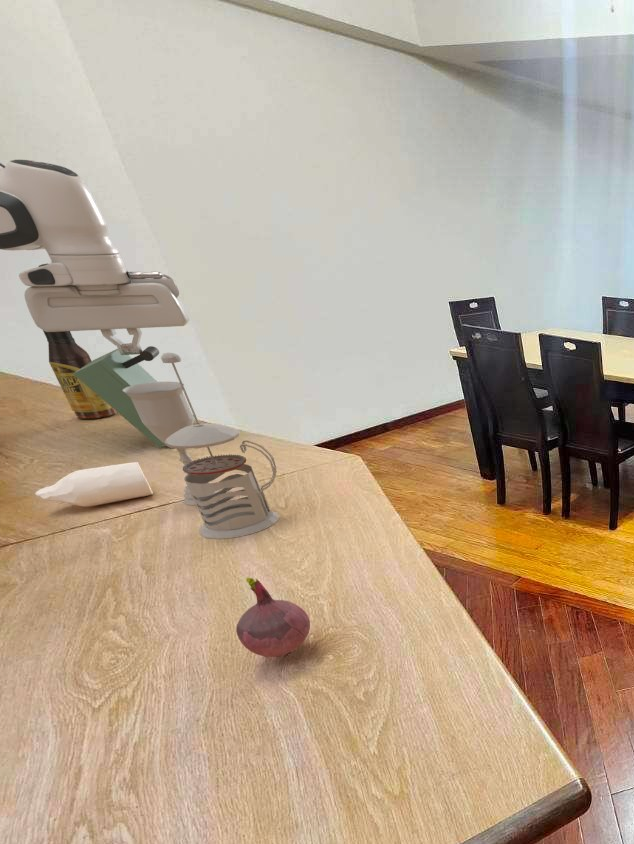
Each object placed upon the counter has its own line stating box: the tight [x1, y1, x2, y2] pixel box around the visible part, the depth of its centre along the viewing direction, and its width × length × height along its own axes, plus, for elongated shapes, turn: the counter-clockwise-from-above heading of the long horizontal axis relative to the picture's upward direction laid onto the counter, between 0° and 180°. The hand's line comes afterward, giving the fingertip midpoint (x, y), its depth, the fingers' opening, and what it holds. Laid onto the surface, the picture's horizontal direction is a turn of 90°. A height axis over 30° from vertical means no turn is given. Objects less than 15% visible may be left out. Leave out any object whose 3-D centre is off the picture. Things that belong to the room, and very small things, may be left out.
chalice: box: [123, 381, 220, 506], centre depth 91 cm, size 7×7×18 cm
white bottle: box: [34, 461, 154, 508], centre depth 91 cm, size 6×12×6 cm, turn 136°
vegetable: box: [235, 577, 311, 658], centre depth 61 cm, size 6×6×10 cm
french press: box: [160, 352, 280, 540], centre depth 83 cm, size 10×12×25 cm
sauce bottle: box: [42, 330, 115, 420], centre depth 123 cm, size 7×6×20 cm
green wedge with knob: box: [73, 345, 196, 449], centre depth 113 cm, size 16×12×10 cm
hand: (132, 354), depth 109 cm, fingers closed
